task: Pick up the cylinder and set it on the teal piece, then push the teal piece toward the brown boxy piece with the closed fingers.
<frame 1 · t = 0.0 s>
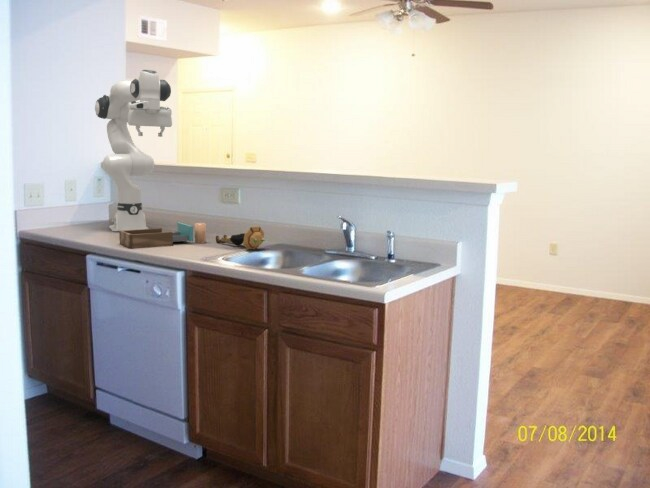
hand: (150, 136, 289), 48 cm above the countertop, tool pointing down, fingers open, 8 cm apart
teal piece: (166, 232, 283), point 5 cm above the countertop, slide at 8.0 cm
toy: (240, 247, 280), on the countertop
cylinder: (200, 242, 288), on the countertop
brown boxy piece: (148, 244, 279), on the countertop
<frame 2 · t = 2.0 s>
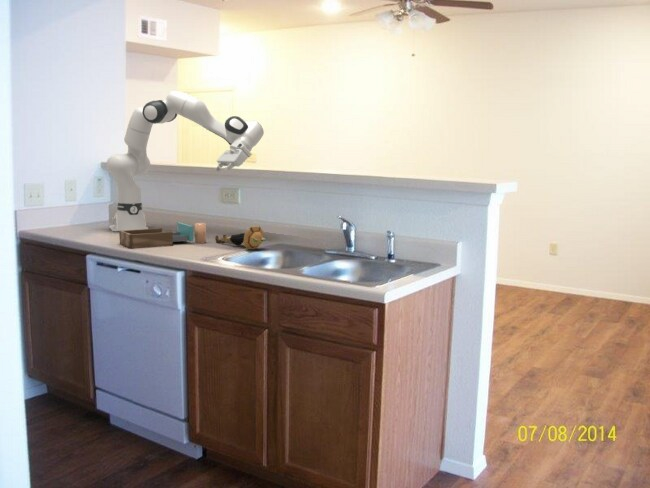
hand: (220, 171, 291), 33 cm above the countertop, tool tilted 45°, fingers open, 8 cm apart
nothing on the countertop moved.
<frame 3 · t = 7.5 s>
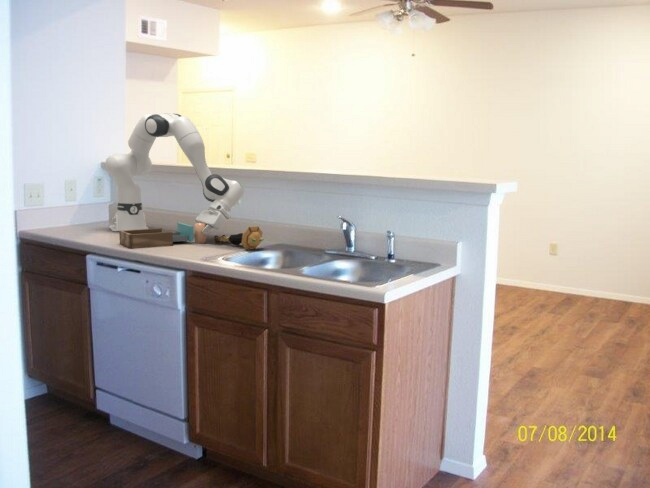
hand: (199, 232, 287), 5 cm above the countertop, tool tilted 45°, fingers closed on cylinder, 5 cm apart
cylinder: (200, 242, 288), on the countertop, touching gripper
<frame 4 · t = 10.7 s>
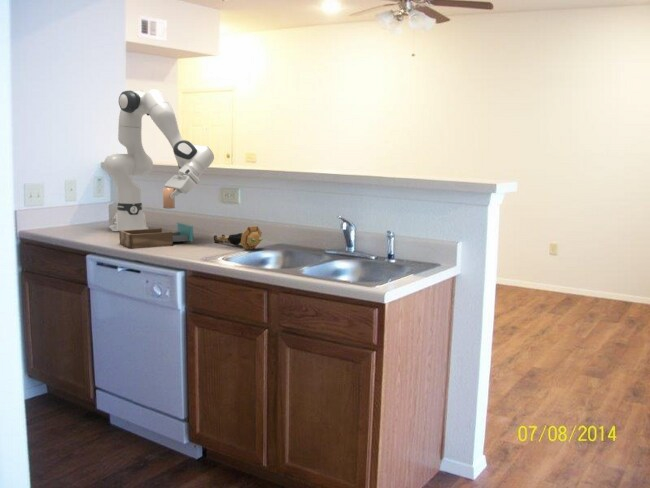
hand: (167, 197, 281), 21 cm above the countertop, tool tilted 45°, fingers closed on cylinder, 5 cm apart
cylinder: (169, 207, 282), point 16 cm above the countertop, touching gripper
when the fingers open (8 cm above the countertop, at t = 13.9 s): cylinder drops 1 cm, resting on teal piece.
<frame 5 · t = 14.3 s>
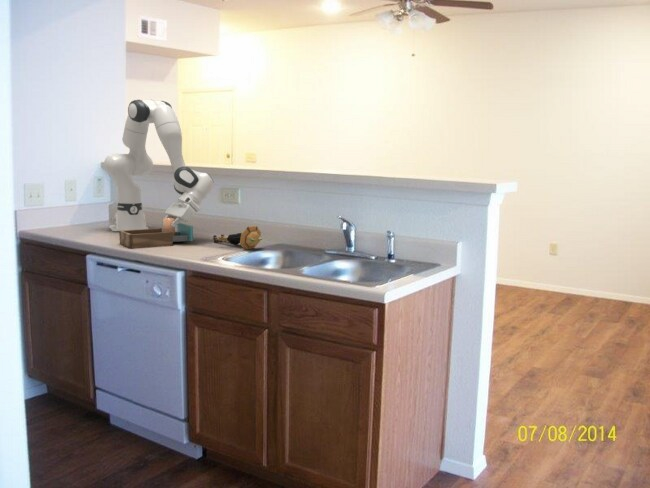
hand: (167, 225, 283), 8 cm above the countertop, tool tilted 45°, fingers open, 8 cm apart
teal piece: (166, 232, 283), point 5 cm above the countertop, slide at 8.0 cm, touching cylinder
cylinder: (169, 237, 284), point 2 cm above the countertop, touching teal piece
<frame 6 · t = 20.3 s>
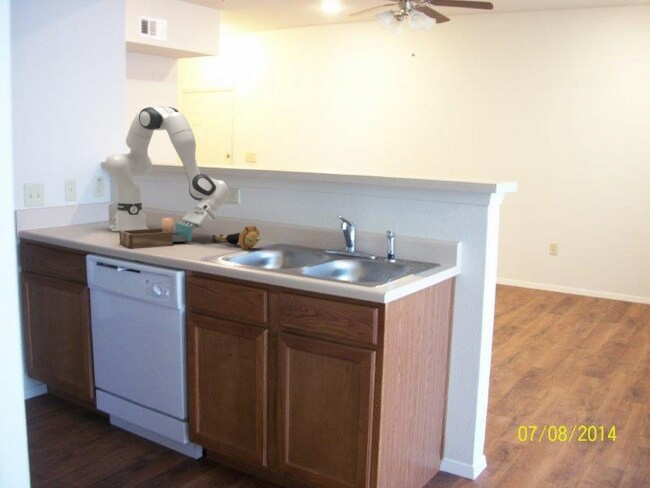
hand: (185, 231, 289), 5 cm above the countertop, tool tilted 45°, fingers closed, pressing on teal piece
teal piece: (164, 232, 282), point 5 cm above the countertop, slide at 7.1 cm, touching cylinder, gripper
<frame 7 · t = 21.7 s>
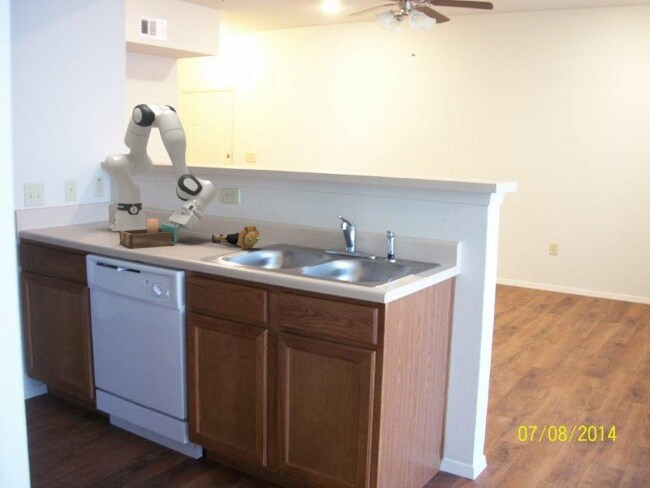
hand: (171, 232, 284), 5 cm above the countertop, tool tilted 45°, fingers closed, pressing on teal piece
teal piece: (149, 233, 278), point 5 cm above the countertop, slide at 0.2 cm, touching cylinder, gripper
cylinder: (152, 238, 280), point 2 cm above the countertop, touching teal piece
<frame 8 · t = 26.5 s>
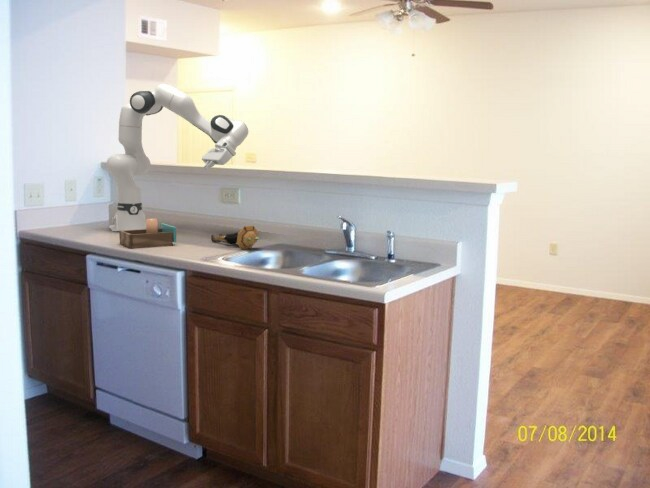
hand: (205, 168, 297), 33 cm above the countertop, tool tilted 45°, fingers closed
teal piece: (149, 233, 278), point 5 cm above the countertop, slide at 0.0 cm, touching cylinder
at the end: teal piece slide at 0.0 cm; cylinder inside the target area (2.5 cm from its centre), point 2.5 cm above the countertop; cylinder tilted 1° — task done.
